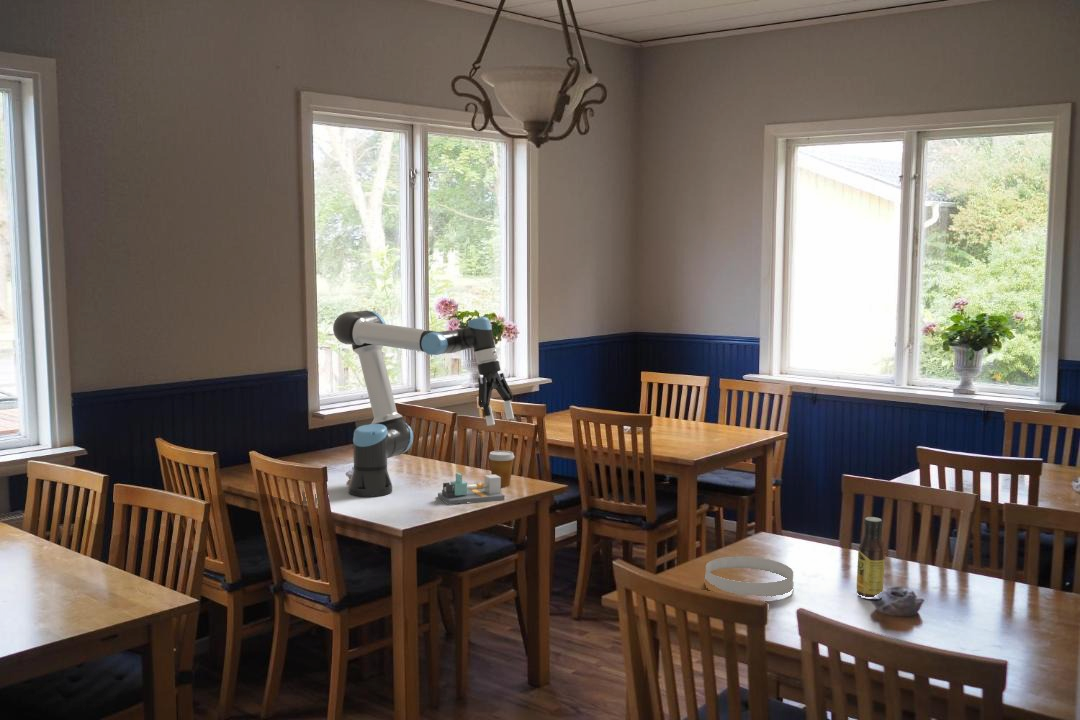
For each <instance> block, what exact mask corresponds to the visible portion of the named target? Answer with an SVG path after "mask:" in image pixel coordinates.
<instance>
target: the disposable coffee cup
mask: <svg viewBox="0 0 1080 720" xmlns="http://www.w3.org/2000/svg"><path fill="white" fill-rule="evenodd" d="M488 458H489V465H490V472H491V474H490V475H497V476H499V477H501V488H506V487H505V486H507V487H509V485H511V478H512V472H513V471H512V470H513V464H514V459H515V455H514V452H512V451H510V450H509V451H508V450H493V451H490V452H489V455H488Z"/></svg>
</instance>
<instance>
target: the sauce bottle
mask: <svg viewBox="0 0 1080 720" xmlns="http://www.w3.org/2000/svg"><path fill="white" fill-rule="evenodd" d="M863 522H864V525H865V526H864V533H863V537H862V539H861V542H860V544H859V546H858V549H857V572H856V573H857V574H856V594H857V593H858V594H859V595H862V596H865V597H874V596H875V595H877V594H879V593H880V592H882V591H883V592H884V582H885V581H884V580H885V578H884V577H885V565H886V564H885V562H886V561H885V559H886V558H885V551H886V549H885V548H886V547H885V544H884V541H883V540H882V539H881V536H882V533H881V531H882V525H883V520H882V518H879V517H875V516H867V517H865V518H864V521H863Z"/></svg>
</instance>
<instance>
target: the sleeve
mask: <svg viewBox="0 0 1080 720" xmlns="http://www.w3.org/2000/svg"><path fill="white" fill-rule="evenodd" d="M450 484H452V485H453V486H454V491H453V493H454V496H458V495H467V485H468V482H466V481H464V480H463V474H461V473H460V472H455V481H450Z"/></svg>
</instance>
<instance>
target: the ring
mask: <svg viewBox="0 0 1080 720" xmlns="http://www.w3.org/2000/svg"><path fill="white" fill-rule="evenodd" d="M724 568H751V569H760V570H765V571H770V572H772V573H776V574H779V575H781V576H783V577H785V578H787V579H785V580H782V581H777V582H768V583H750V582H741V581H735V580H729V579H725V578H722V577H719V576H716V575H714V574H712V573H710V572H711V571H713V570H717V569H724ZM705 579H706V580H707V581H708V582H709V583H710V584H712V585H715V587H717V588H719V589H721V590H723V591H726V592H730V593H735V594H737V595H756V596H766V597H767V596H771V597H772V596H776V595H783V594H785V593H788V592H790V591H791V590H792V589H793V590H794V588H793V586H794V585H795V584H794V571H793V569H792V568H791V567H790V566H789V565H787V564H785V563H782V562H779V561H775V560H772V559H768V558H763V557H762V558H761V557H755V556H742V555H741V556H739V555H738V556H737V555H736V556H726V557H725V556H724V557H720V558H719V557H718V558H715V559H711V560H710V561H708V562H707V563H706V565H705V576H704V580H705ZM794 587H795V586H794Z"/></svg>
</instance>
